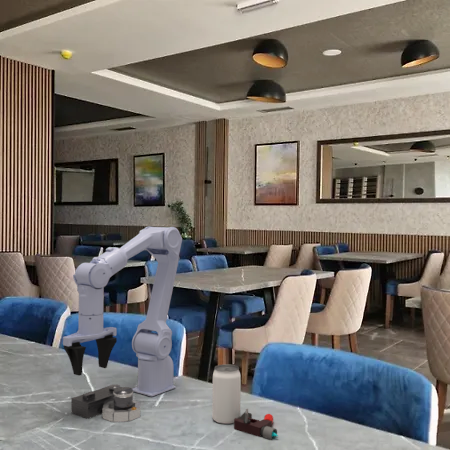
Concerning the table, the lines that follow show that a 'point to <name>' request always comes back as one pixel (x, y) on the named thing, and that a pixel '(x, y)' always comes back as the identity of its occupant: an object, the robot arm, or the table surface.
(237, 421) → the toy gun
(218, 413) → the can
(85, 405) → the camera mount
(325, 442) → the table surface
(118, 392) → the lens
